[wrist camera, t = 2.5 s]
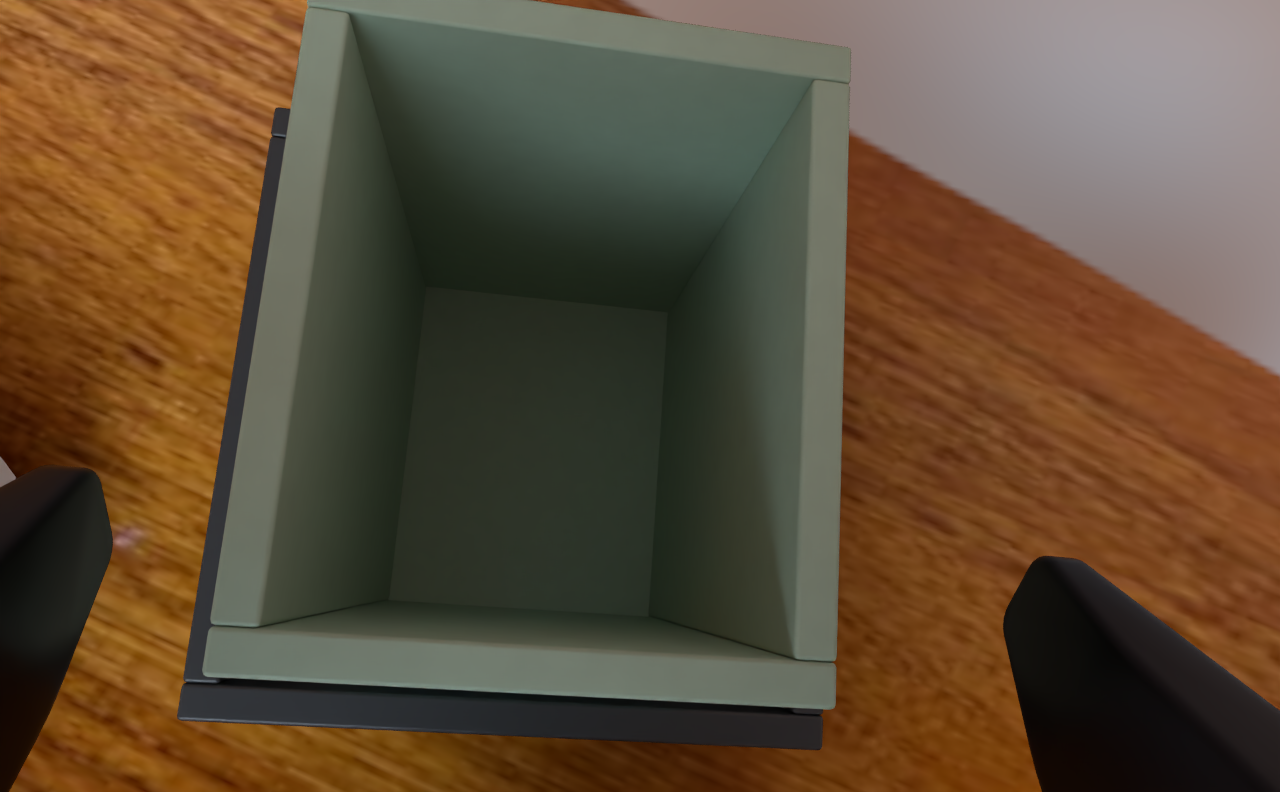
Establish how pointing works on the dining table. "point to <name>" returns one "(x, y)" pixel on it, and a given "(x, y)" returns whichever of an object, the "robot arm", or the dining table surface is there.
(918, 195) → the dining table surface
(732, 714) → the charcoal basket
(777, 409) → the green basket
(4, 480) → the figurine
